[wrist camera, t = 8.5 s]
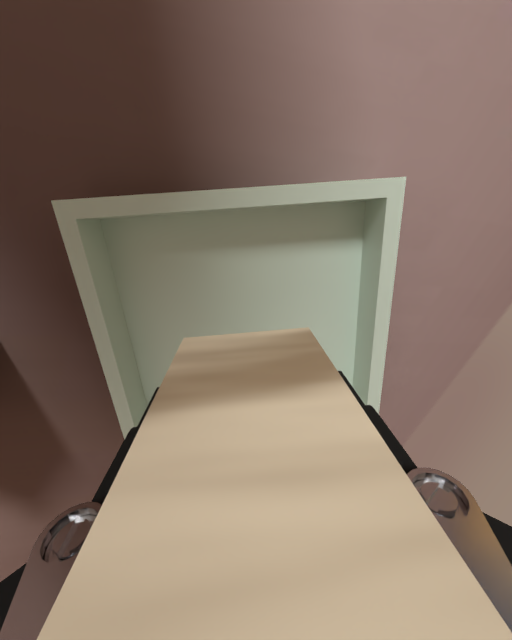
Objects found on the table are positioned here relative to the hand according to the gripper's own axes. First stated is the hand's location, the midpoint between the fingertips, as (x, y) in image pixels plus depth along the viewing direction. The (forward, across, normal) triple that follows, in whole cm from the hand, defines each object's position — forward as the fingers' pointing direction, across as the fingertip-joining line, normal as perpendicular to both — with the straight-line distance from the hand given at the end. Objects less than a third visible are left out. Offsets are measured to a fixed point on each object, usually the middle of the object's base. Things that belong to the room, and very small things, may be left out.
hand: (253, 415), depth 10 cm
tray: (+8, 0, 0) cm, 8 cm away
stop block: (+2, 0, 0) cm, 2 cm away
